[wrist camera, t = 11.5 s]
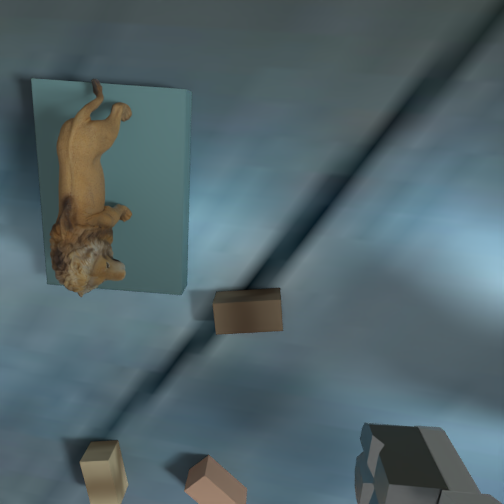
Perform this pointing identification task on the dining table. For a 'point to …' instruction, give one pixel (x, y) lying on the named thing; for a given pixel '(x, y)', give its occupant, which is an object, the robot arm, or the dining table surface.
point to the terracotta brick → (214, 484)
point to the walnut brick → (248, 311)
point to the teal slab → (127, 176)
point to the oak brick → (104, 472)
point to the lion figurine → (86, 200)
